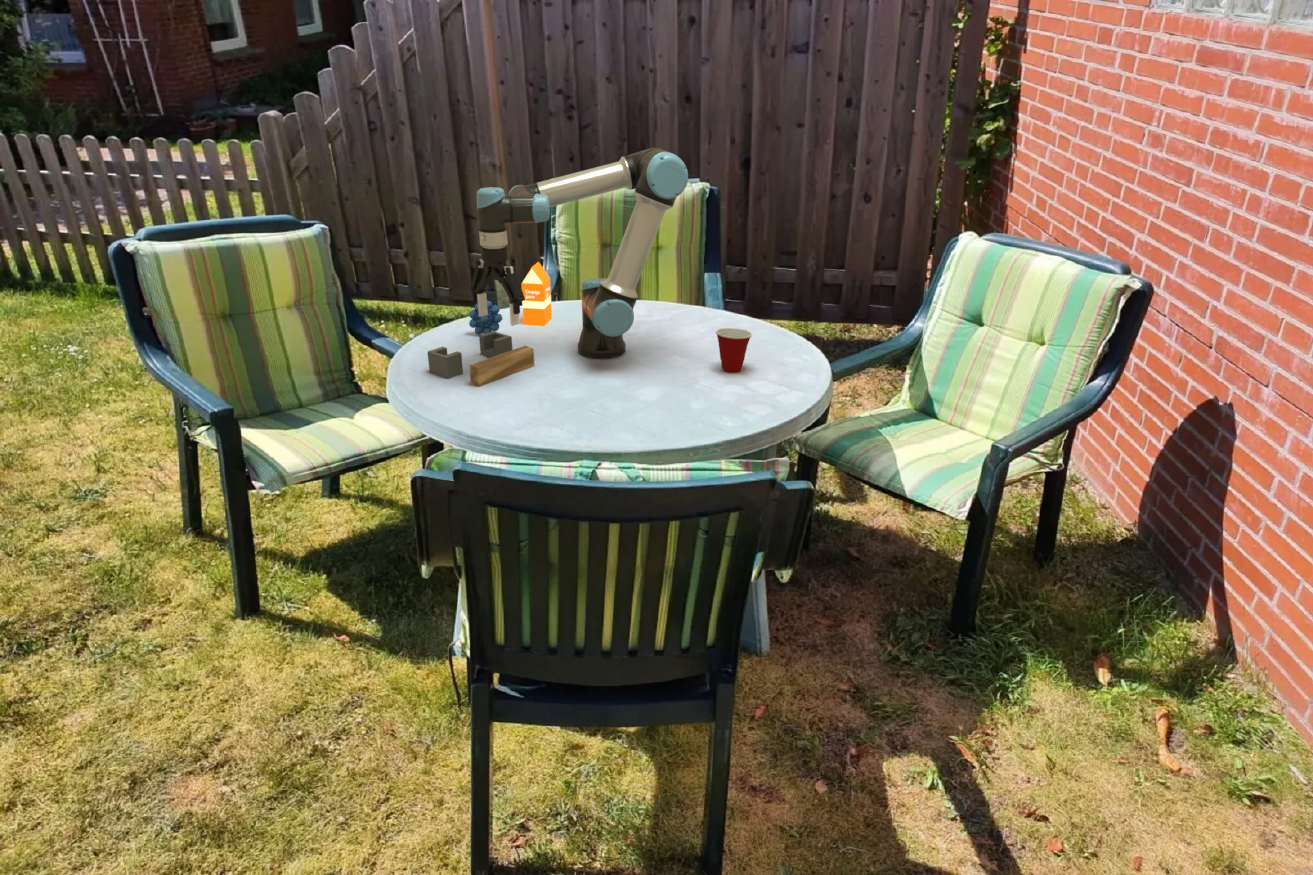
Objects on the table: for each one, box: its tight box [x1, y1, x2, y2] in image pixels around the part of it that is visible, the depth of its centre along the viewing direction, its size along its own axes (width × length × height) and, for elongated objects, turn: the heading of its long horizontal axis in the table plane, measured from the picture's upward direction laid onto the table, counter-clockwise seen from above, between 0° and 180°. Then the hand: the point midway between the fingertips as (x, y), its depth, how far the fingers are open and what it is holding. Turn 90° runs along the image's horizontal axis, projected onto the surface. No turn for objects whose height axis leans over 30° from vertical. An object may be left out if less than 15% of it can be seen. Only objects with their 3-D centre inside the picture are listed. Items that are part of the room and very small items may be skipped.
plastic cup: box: [715, 327, 753, 374], centre depth 266 cm, size 11×11×12 cm
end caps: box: [427, 331, 513, 380], centre depth 270 cm, size 8×25×6 cm, turn 141°
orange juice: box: [520, 261, 553, 327], centre depth 307 cm, size 8×9×20 cm
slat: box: [469, 345, 535, 388], centre depth 262 cm, size 4×22×6 cm, turn 142°
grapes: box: [468, 300, 503, 336], centre depth 295 cm, size 12×7×12 cm, turn 78°
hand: (499, 320), depth 257 cm, fingers open, 13 cm apart
